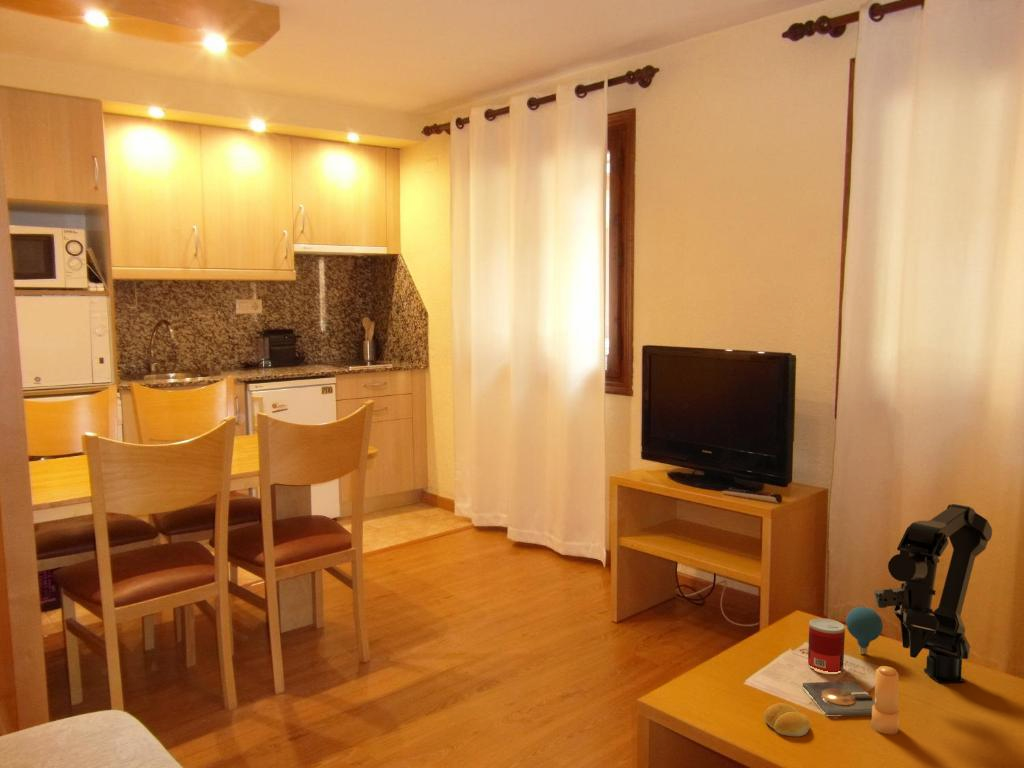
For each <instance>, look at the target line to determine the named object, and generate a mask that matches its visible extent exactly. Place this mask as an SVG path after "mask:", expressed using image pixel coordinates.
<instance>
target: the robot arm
mask: <svg viewBox="0 0 1024 768" xmlns="http://www.w3.org/2000/svg"><path fill="white" fill-rule="evenodd" d="M992 536H993V528H992V525H991V524H990V522H989V521H988V519H986V518H984V516H982V515H980V514H979V513H977V512H976V511H975V509H974V508H973V507H970V506H968V505H962V504H957V503H952V504H947V508H946V509H945V510H942V511H941V512H940V513H939V514H937V515H936V516H934V517H933V518H931V519H930V520H918V521H917V520H916V521H913V522H912V523H911V524H910V525H908V526H907V527H906V529H905V531H904V533H903V535H902V538H901V539H900V540H899V541H900V542H899V544H898V546H897V548H896V549H897V551H899V553H898V554H895V555H893V556H892V557H891V558H890V559H889V561H888V562H887V563H888V564H887V569H888V572H889V574H890V575H891V577H892V578H893V579H894V580H896V581H898V582H901V583H900V587H899V588H898V587H897V588H896V587H895V588H890V587H888V588H887V589H886V588H883V589H877V590H873V595H874V599H875V602H876V606H877V608H879V609H884V608H888V607H892V610H893V613H894V615H895V617H897V620H899V621H900V622H899V623H900V631H901V632H900V633H901V642H902V644H901V645H902V648H903V649H909V656H910V657H911V658H913V659H916V658H917V657H918V656H919V654H920V653H921V652H922V650H923V649H925V650H928V655H927V656H926V665H925V668H923V672H925V673H926V674H927V675H929V676H930V677H931V678H933V680H934V681H936V682H938V683H939V684H949V683H951V684H952V683H956V684H957V683H966V679H965V678H964V677H962V671H963V670H962V669H963V660H968V659H969V657H970V655H969V654H970V651H971V650H970V649H971V644H970V643H969V641H968V639H967V637H966V636H965V633H966V628H965V625H964V621H963V619H962V617H961V616H962V614H961V613H962V611H963V606H964V602H965V598H966V595H967V591H968V588H969V583H970V580H971V575H972V571H973V567H974V564H975V559H976V557H978V556H979V555H980V554H981V553H983V552H984V551H985V550H986V548H987V546H988V543H989V542H990V541H991V539H992ZM949 540H950V544H951V546H952V554H951V558H950V561H949V564H948V565H949V566H948V569H947V573H946V577H945V579H944V580H945V581H944V583H943V588H942V592H941V596H940V600H939V604H938V607H937V608H935V610H933V608H932V603H933V596H936V589H934V588H935V584H936V583H935V582H936V576H937V568H938V564H939V563H940V558H939V557H941V556H942V555H943V554H944V551H945V550H946V548H947V547H948V545H949Z"/></svg>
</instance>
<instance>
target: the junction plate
mask: <svg viewBox="0 0 1024 768" xmlns="http://www.w3.org/2000/svg"><path fill="white" fill-rule="evenodd" d="M803 687H804V688H805V689H806V690H807V691H808V692H809V694H810V695H811V696H812V697H813V699H814V700H815V701H816V702H817V704H818V705H819V706H820V708H821V709H822V710H823V711H824V712H825V714H826V715H844V716H843V717H854V716H855V717H857V715H863V716H872V706H873V705H874V704H875V699H874V698H873V696H871V695H869V692H867V691H864V690H863V688H861V686H859V685H858V684H857V683H856V681H853V680H852V681H824V682H823V681H822V682H821V681H820V682H817V681H815V682H803V683H802V688H803ZM820 708H819V709H820ZM825 714H824V715H825ZM826 715H825V716H826Z"/></svg>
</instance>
